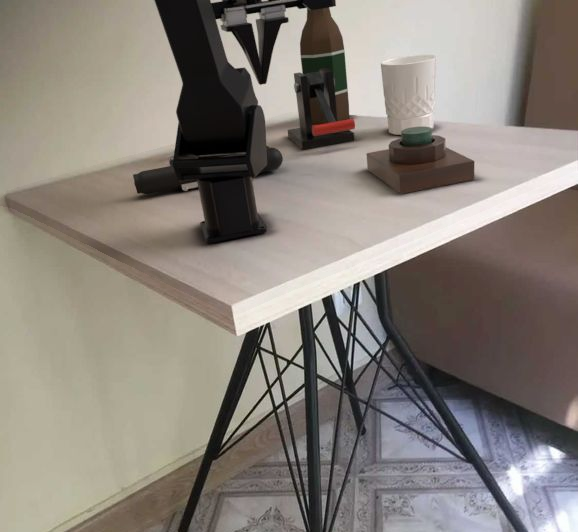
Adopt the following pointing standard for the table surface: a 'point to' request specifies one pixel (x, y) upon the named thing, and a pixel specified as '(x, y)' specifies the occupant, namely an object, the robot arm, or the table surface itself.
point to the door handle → (168, 180)
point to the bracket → (304, 133)
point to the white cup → (409, 91)
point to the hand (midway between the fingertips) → (262, 83)
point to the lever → (325, 108)
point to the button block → (420, 166)
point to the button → (416, 136)
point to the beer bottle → (325, 58)
